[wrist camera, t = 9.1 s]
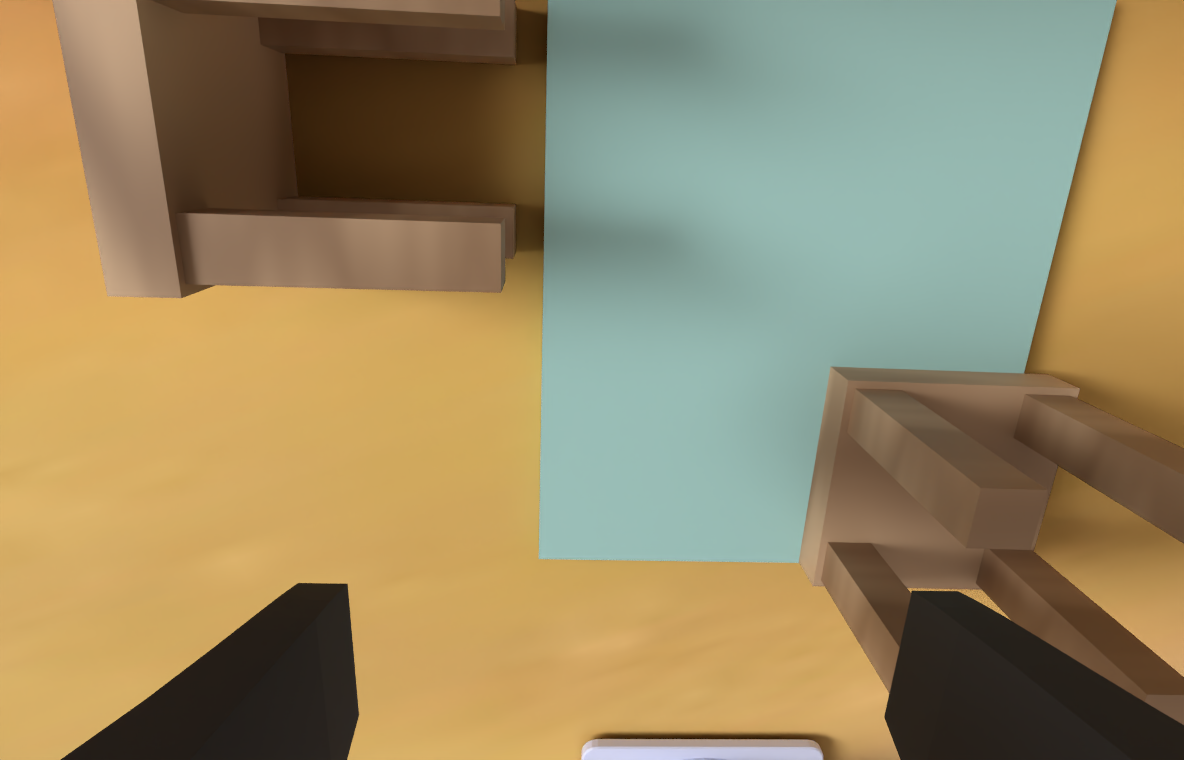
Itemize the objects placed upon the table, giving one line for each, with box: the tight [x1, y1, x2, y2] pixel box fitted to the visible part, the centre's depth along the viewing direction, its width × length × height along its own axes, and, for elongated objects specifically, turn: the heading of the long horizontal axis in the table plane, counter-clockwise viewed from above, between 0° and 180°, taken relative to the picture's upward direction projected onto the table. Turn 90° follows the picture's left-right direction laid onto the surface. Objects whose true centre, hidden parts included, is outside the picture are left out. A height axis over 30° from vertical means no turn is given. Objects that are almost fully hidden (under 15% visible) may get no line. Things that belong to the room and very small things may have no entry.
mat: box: [539, 0, 1117, 563], centre depth 18 cm, size 15×13×1 cm
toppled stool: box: [52, 0, 516, 298], centre depth 13 cm, size 6×6×7 cm
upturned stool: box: [799, 367, 1184, 725], centre depth 16 cm, size 6×6×7 cm
